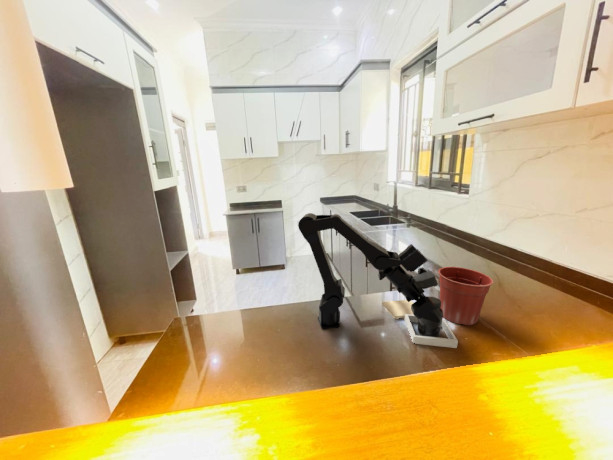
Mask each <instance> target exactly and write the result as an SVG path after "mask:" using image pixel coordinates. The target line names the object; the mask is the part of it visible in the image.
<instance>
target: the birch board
mask: <svg viewBox="0 0 613 460" xmlns="http://www.w3.org/2000/svg"><path fill="white" fill-rule="evenodd" d="M413 303H414V302H413V300H411V301H410V302H408V301H407V300H406V299H401V300H390V301H382V302H381V306H382V307H383V306H384V307H385V308H386V309H387V310H386V309H385V308H384V307H383V308H384V309H385V310H386V311H387V313H389V315H392V316H393V317H392V316H391V317H392V318H393V319H394V318H395V319H394V320H400V319H399V318H402V319H404V318H405V314H411V315H414V314H413V312H412V310H411V305H412V304H413Z"/></svg>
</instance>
